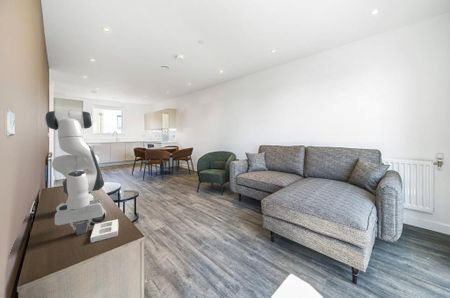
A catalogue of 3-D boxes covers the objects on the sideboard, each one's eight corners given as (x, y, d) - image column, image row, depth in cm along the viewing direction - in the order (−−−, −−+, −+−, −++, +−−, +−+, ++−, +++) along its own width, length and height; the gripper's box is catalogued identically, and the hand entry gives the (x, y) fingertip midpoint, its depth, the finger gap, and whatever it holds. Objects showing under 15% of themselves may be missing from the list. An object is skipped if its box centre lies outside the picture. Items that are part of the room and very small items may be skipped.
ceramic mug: (106, 216, 117) (105, 204, 116) (106, 221, 110) (105, 209, 109) (85, 221, 111) (84, 209, 111) (84, 227, 104) (82, 213, 104)
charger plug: (78, 231, 99) (77, 220, 98) (87, 229, 101) (86, 218, 100) (76, 235, 95) (75, 223, 95) (86, 232, 97) (85, 221, 97)
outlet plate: (95, 228, 102) (94, 224, 101) (118, 223, 107) (118, 219, 107) (90, 242, 88) (90, 237, 87) (117, 235, 93) (117, 231, 93)
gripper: (103, 197, 105) (105, 221, 106) (55, 204, 95) (58, 231, 96) (102, 200, 99) (104, 225, 100) (51, 208, 89) (54, 236, 90)
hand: (81, 228), depth 98 cm, fingers closed on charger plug, 4 cm apart
